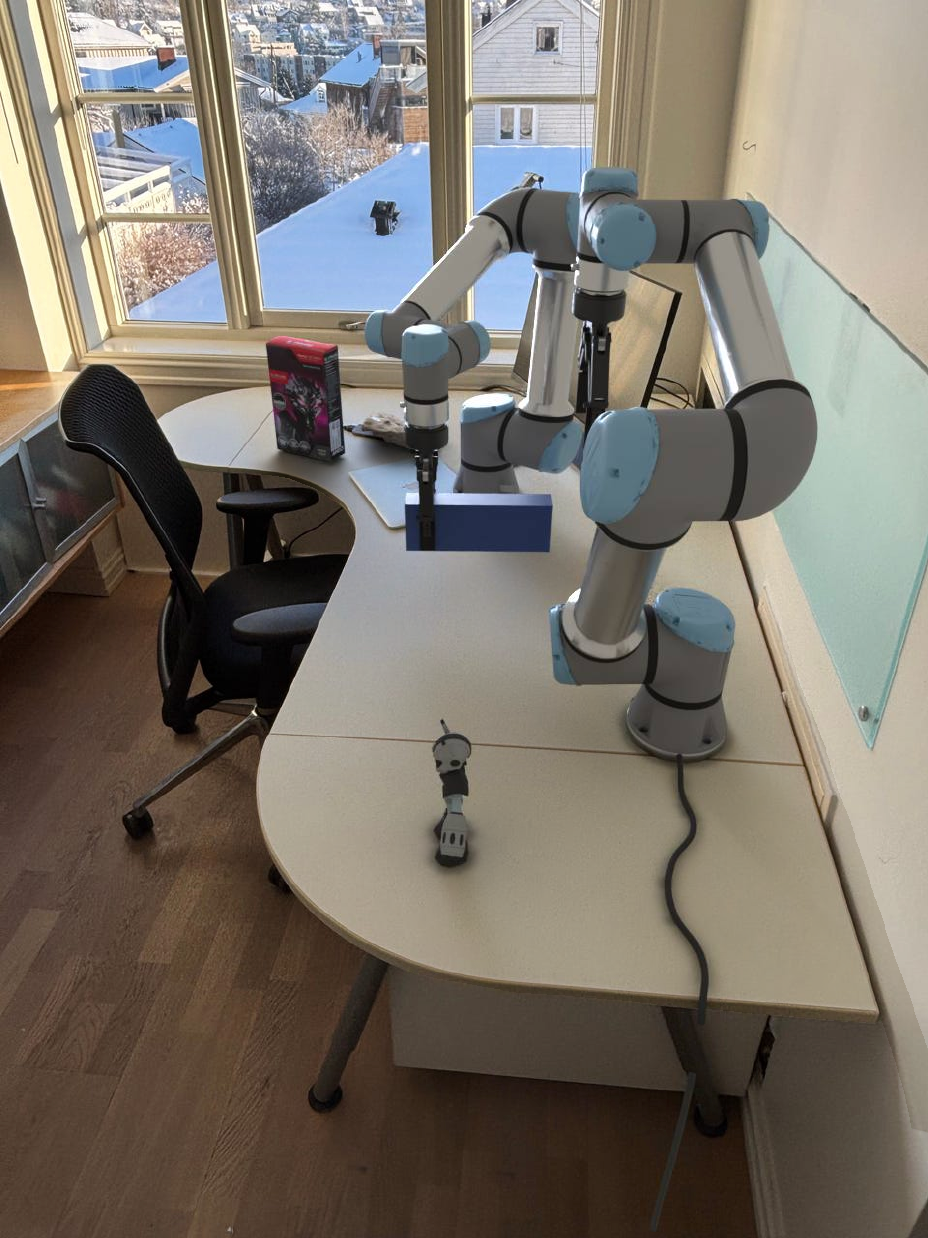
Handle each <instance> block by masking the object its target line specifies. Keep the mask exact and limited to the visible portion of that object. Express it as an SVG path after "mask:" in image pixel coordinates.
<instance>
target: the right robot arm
mask: <svg viewBox="0 0 928 1238" xmlns="http://www.w3.org/2000/svg"><path fill="white" fill-rule="evenodd" d="M579 193H580V195H579V199H580V213H579V230H578V245H577V258H576V260H577V262H578V263H576V264H572V265H571V270H572V271H576V272H575V285H576V286H577V288H576V289H575V290H574V292H573V306H572V314H573V315H574V317H576V318H577V319H578V321H582V327H581V331H580V332H581V334H580V335H581V336H580V342H579V347H578V348H579V349H578V355H577V359H576V360H577V363H578V365H577V369H578V372H577V383H576V394H575V408H574V414H585V415H584V416H585V417H584V427H583V437H582V439H583V440H582V449H583V451H582V462H581V464H580V469H579V470H580V471H579V499H580V505H581V508H582V509H581V510H582V512H583V514H584V515H585V516H586V518H587V519H589V520H591V521H592V522H594V524H595V526H596V528H595V532H594V535H593V540H592V542H591V543H592V544H591V547H590V549H589V550H590V551H589V555H588V558H587V561H586V565H585V569H584V574H583V577H582V581H581V585H580V588H579V589H578V590H576V591H575V592H574V593H572V595H570V596H569V598H567V600H566V603H559V604H554V605H551V606H550V608H549V609H548V614H549V615H548V616H549V631H550V645H551V646H550V647H551V658H552V659H551V660H552V661H551V662H552V674H553V678H554V680H555V681H556V682H557V683H558V684H560V685H572V686H576V687H581V686H597V685H605V686H606V685H640V688H639V689H638V691H637V692H636V694H635V695H634V697H632V698H631V700H630V704H629V706H628V708H627V711H626V719H625V728H626V732H627V734H628V736H629V738H630V739H631V741H632V742H634V744H636V745H637V746H638V747H639V748H640V749H641V750H643V751H645V752H646V753H648V754H650V755H651V756H654V757H656V758H659V759H662V760H666V761H670V762H675V763H676V768H677V769H676V770H677V791H678V795H679V799H680V801H681V804H682V806H683V808H684V810H685V811H686V814H687V816H688V818H689V823H690V827H689V832H688V834H687V836H686V838H685V839H684V840H683V841H682V843H681V844H680V845H679V846H677V848H676V849H675V850H674V852H673V853H672V855H670V857H669V860H668V863H667V868H666V870H665V876H664V896H665V903H666V906H667V910H668V912H669V915H670V917H671V919H672V921H673V922H674V924H675V925H676V927H677V928H678V930H679V931H680V932H681V933H682V935H683V936H684V937H685V938H686V940H687V941H688V942H689V944H690V946H691V947H692V949H693V950H694V952H695V954H696V957H697V959H698V960H697V961H698V963H699V967H700V988H699V996H698V1004H697V1018H696V1021H697V1024H698V1025H699V1026H702V1027H703V1026H704V1025H705V1023H706V1013H707V1012H706V1011H707V1002H708V994H709V983H710V980H709V979H710V976H709V967H708V962H707V958H706V955H705V953H704V951H703V948H702V946H701V945H700V943H699V941H698V940H697V939H696V937H695V936H694V935H693V933H692V932H691V931H690V929H689V928H688V927H687V926H686V924H685V923H684V922H683V920H682V919H681V917H680V916H679V913H678V912H677V909H676V906H675V903H674V898H673V893H672V880H673V875H674V870H675V866H676V863H677V861H678V859H679V858H680V856H681V855H682V854H683V853H684V852H685V850H687V848H688V847H689V846H690V845H691V844H692V842H693V841H694V840H695V837H696V834H697V829H698V828H697V826H698V824H697V823H698V822H697V818H696V815H695V812H694V810H693V807H692V806H691V804H690V802H689V800H688V798H687V794H686V791H685V786H684V782H685V781H684V780H685V779H684V763H694V762H700V761H703V760H706V759H709V758H711V757H714V755H716V754H718V752H720V751H721V750H722V748H723V747H724V744H725V743H726V740H727V739H726V738H727V734H728V721H727V716H726V712H725V708H724V707H725V706H724V701H723V692H724V686H725V682H726V678H727V674H728V673H727V672H728V668H729V664H730V659H731V654H732V651H733V649H734V646H735V632H736V620H735V617H734V614H733V612H732V611H731V609H730V608H729V607H728V606H727V605H726V604H725V603H724V602H723V601H722V600H720V599H718V598H716V597H715V596H713V595H711V594H709V593H707V592H704V591H701V590H698V589H695V588H690V587H671V588H670V587H669V588H667V589H665V590H663V591H660V592H659V593H658V594H657V596H656V597H655V598H654V600H653V603H650V604H647V603H646V601H647V600H648V596H649V594H650V591H651V589H652V586H653V584H654V581H655V579H656V576H657V575H658V572H659V569H660V567H661V564H662V561H663V560H664V558H665V557H664V556H665V555H666V551H667V549H668V548H670V547H673V546H675V545H677V544H678V543H679V542H680V541H681V540H682V539H683V538H684V537H685V536H686V535H687V533H688V532H689V530H690V529H691V527H692V524H693V523H694V522H745V521H748V520H752V519H755V518H759V517H761V516H763V515H765V514H768V513H769V512H771V511H773V510H774V509H776V508H777V507H779V506H780V505H781V504H782V503H784V502H785V501H787V499H788V498H789V497H790V496H791V495H792V494H793V493H794V492H795V491H796V490H797V488H798V487H799V486H800V484H801V483H802V481H803V479H804V478H805V476H806V474H807V473H808V471H809V468H810V466H811V464H812V461H813V458H814V455H815V452H816V446H817V442H818V418H817V412H816V408H815V405H814V401H813V398H812V395H811V392H810V390H809V388H808V387H806V385H805V384H804V383H802V382H801V381H799V380H796V377H795V375H794V371H793V368H792V365H791V361H790V358H789V355H788V352H787V351H788V350H787V348H786V344H785V342H784V339H783V334H782V331H781V329H780V325H779V322H778V318H777V315H776V311H775V308H774V305H773V303H772V299H771V296H770V292H769V290H768V286H767V281H766V279H765V275H764V273H763V269H762V266H761V262H760V260H761V259H762V258H763V256H764V254H765V252H766V249H767V246H768V242H769V238H770V223H769V222H770V214H769V211H768V208H767V206H766V205H765V204H764V203H763V202H761V201H757V200H746V199H739V198H730V199H637V198H638V197H639V193H640V192H639V174H638V173H637V172H636V171H635V170H634V169H630V168H627V167H621V166H598V167H597V166H596V167H591V168H588V169H587V170H586V171H585V172H584V173H583V175H582V181H581V189H580V192H579ZM645 264H648V265H649V264H651V265H652V264H663V265H664V264H668V265H670V264H674V265H675V264H676V265H680V264H682V265H683V264H684V265H686V264H687V265H693V266H694V267H693V268H694V270H695V273H696V276H697V277H696V278H697V282H698V286H699V290H700V295H701V300H702V303H703V308H704V313H705V317H706V321H707V325H708V329H709V333H710V338H711V343H712V347H713V351H714V355H715V360H716V364H717V369H718V374H719V377H720V382H721V386H722V391H723V394H724V399H725V403H724V405H723V406H722V408H675V409H674V408H656V409H655V408H654V409H653V408H647V407H643V406H635V407H634V406H633V407H631V408H629V409H610V410H607V411H606V409H608V408H609V404H610V403H609V390H610V388H609V385H610V361H611V359H610V358H611V345H612V344H611V343H612V332H610V327H609V326H608V325H609V324H610V323H612V322H613V323H615V322H618V321H620V320H622V319H623V318H624V316H625V313H626V302H627V292H626V290H625V289H627V288H628V286H629V279H630V271H632V270H635V269H637V268H639V267H641V266H642V265H645ZM697 1074H698V1073H697V1072H692V1071H688V1076H687V1080H686V1085H685V1090H684V1095H683V1099H682V1103H681V1107H680V1112H679V1116H678V1121H677V1124H676V1128H675V1133H674V1136H673V1140H672V1144H671V1147H670V1150H669V1151H670V1152H669V1155H668V1159H667V1162H666V1166H665V1169H664V1172H663V1173H664V1174H663V1176H662V1181H661V1184H660V1188H659V1192H658V1195H657V1198H656V1203H655V1207H654V1211H653V1214H652V1218H651V1222H650V1226H649V1229H650V1231H651V1232H656V1231H657V1227H658V1225H659V1221H660V1217H661V1214H662V1213H661V1212H662V1209H663V1205H664V1201H665V1198H666V1194H667V1191H668V1187H669V1183H670V1180H671V1177H672V1173H673V1170H674V1166H675V1162H676V1159H677V1156H678V1152H679V1148H680V1146H681V1145H680V1144H681V1140H682V1136H683V1133H684V1131H685V1130H684V1129H685V1125H686V1122H687V1118H688V1113H689V1110H690V1105H691V1101H692V1096H693V1092H694V1088H695V1083H696V1079H697Z"/></svg>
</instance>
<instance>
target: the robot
mask: <svg viewBox="0 0 928 1238" xmlns="http://www.w3.org/2000/svg"><path fill="white" fill-rule="evenodd" d="M439 722H440V725H441V727H442V730H443V733H444V734H442V735H441V736H439V737H438V738H437V739H436V740H435V741H434V742H433V745H432V747H431V752H432V757H433V758H434V761H435V771H436V772H437V773H439V774H438V776H439V779H440V781H441V783H442V785H441V792H442V794H441V795H442V799H443V801H444V802H445V805H446V807H445V808H444V812H443V813H442V816H441V819H440V820H439V821H438V823H437V824H435V826H434V828H433V833H434V834H435V836H436V838H437V839H438V840H439V841H440V842H439V845H438V848H437V849H436V852H435V855H434V859H435V860H436V861H437V862H438V863H439V865H441V866H443V867H447V868H453V867H457V866H459V865H461V864H463V863H466V862H467V859H468V856H469V854H470V853H469V844H468V840H467V837H468V823H467V818H466V815H464V813H463V810H462V806H463V804H464V798H463V797H469V795H470V794H469V793H470V788H469V787H470V786H469V779H468V776H467V774H466V766H467V765H468V762H467V760H468V759H469V758H470V757H471V755H472V749H473V748H472V743H471V741H470V739H468V738H467V736H465V735H464V734H462V733H460V732H457V731H450V729H449V727H448V725H447V723H446V722H445V720H444V719H443V718H441V719H440V720H439Z"/></svg>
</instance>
